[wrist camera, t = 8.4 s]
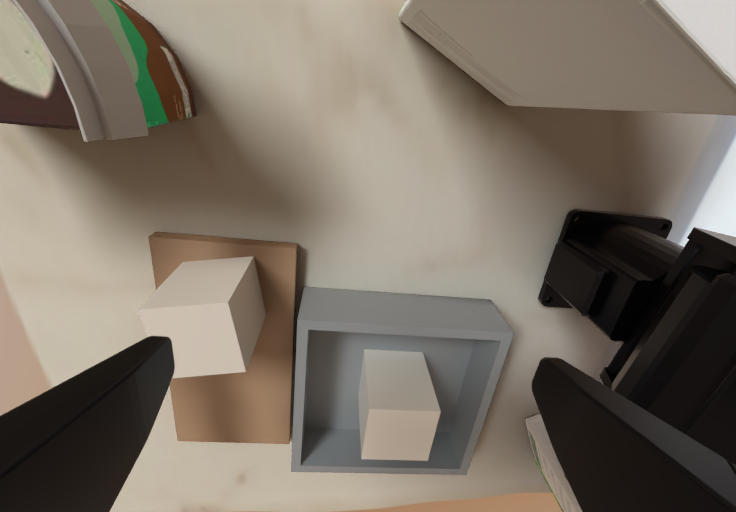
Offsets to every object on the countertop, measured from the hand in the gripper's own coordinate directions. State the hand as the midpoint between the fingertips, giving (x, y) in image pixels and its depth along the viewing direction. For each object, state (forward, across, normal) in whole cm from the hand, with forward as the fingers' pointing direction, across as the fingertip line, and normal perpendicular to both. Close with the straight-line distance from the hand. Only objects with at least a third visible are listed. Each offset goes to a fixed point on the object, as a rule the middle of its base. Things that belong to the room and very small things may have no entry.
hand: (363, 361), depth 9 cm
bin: (+13, -4, +12) cm, 18 cm away
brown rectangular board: (+13, +7, +10) cm, 18 cm away
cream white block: (+12, +7, +6) cm, 15 cm away
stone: (+12, -4, +12) cm, 17 cm away
